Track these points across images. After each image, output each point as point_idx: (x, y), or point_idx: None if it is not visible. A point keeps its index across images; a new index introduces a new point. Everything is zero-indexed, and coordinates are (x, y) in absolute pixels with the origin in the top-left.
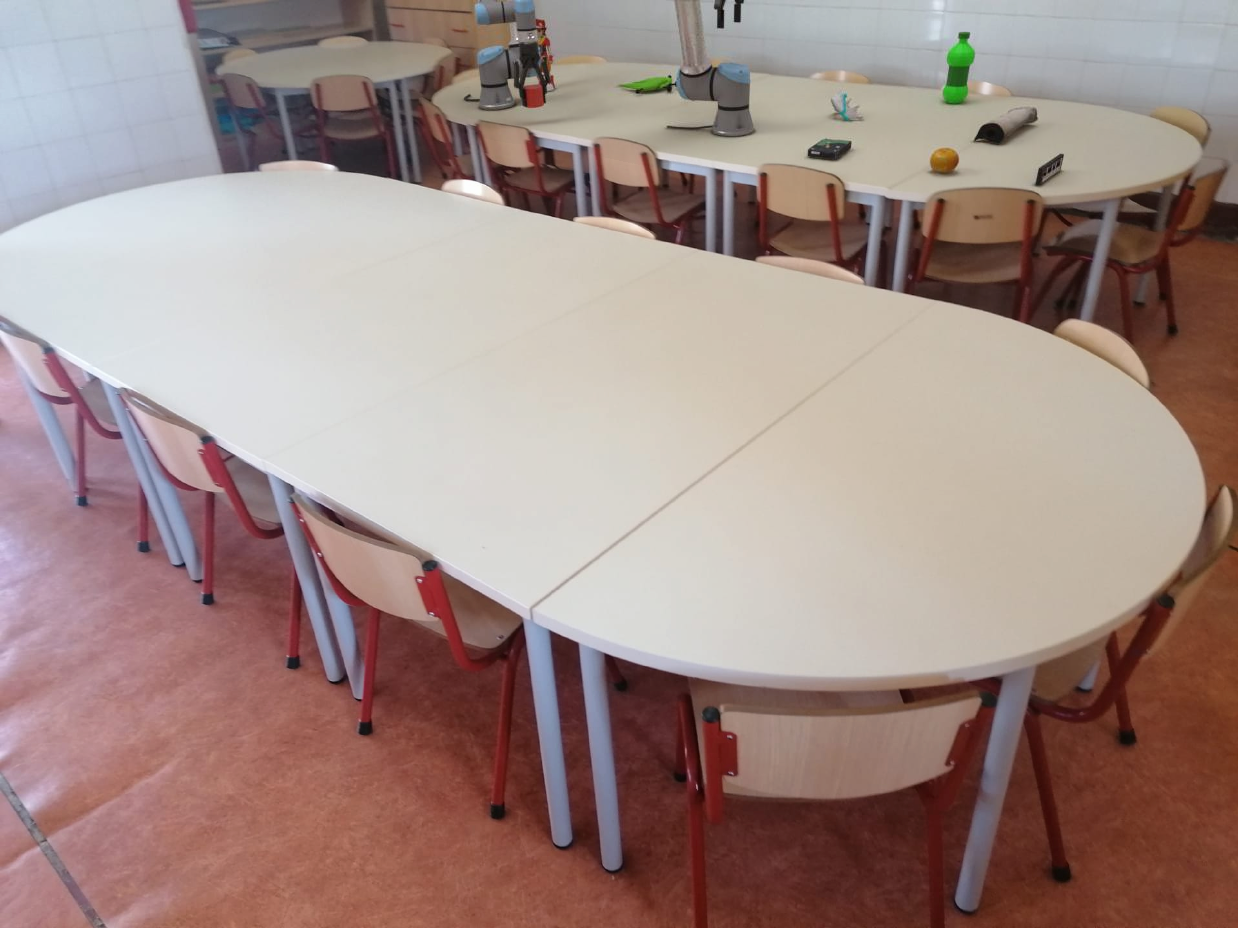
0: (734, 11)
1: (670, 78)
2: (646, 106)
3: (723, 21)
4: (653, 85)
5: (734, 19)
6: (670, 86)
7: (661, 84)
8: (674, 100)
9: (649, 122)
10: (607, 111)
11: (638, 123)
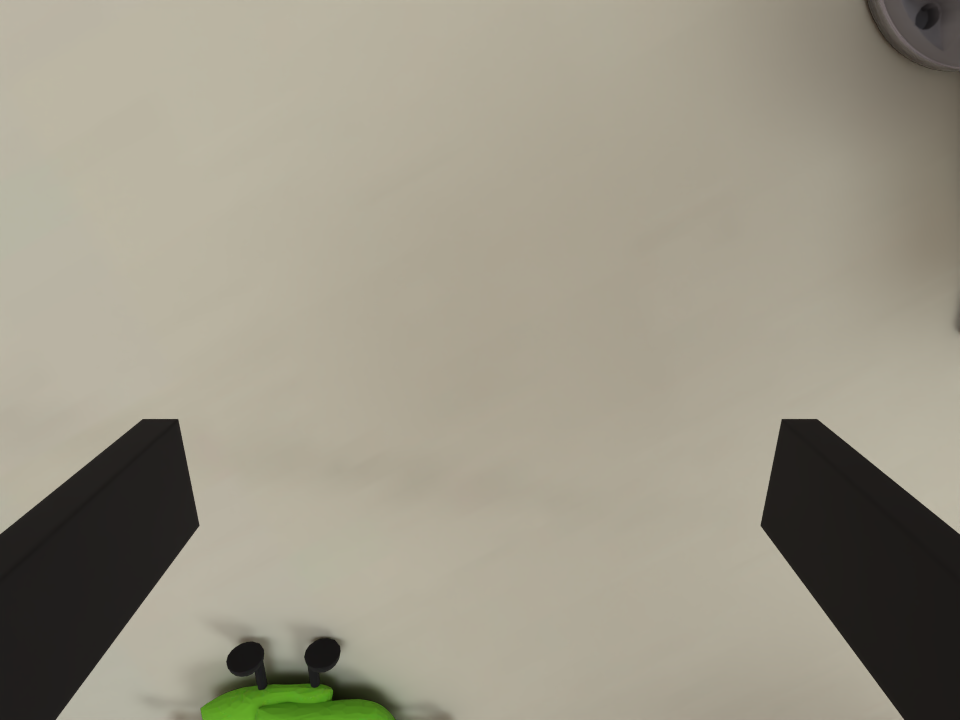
0: (81, 665)
1: (219, 716)
2: (589, 609)
3: (883, 486)
4: (371, 716)
5: (168, 548)
6: (314, 660)
7: (313, 704)
8: (442, 559)
9: None
10: (716, 696)
11: None
